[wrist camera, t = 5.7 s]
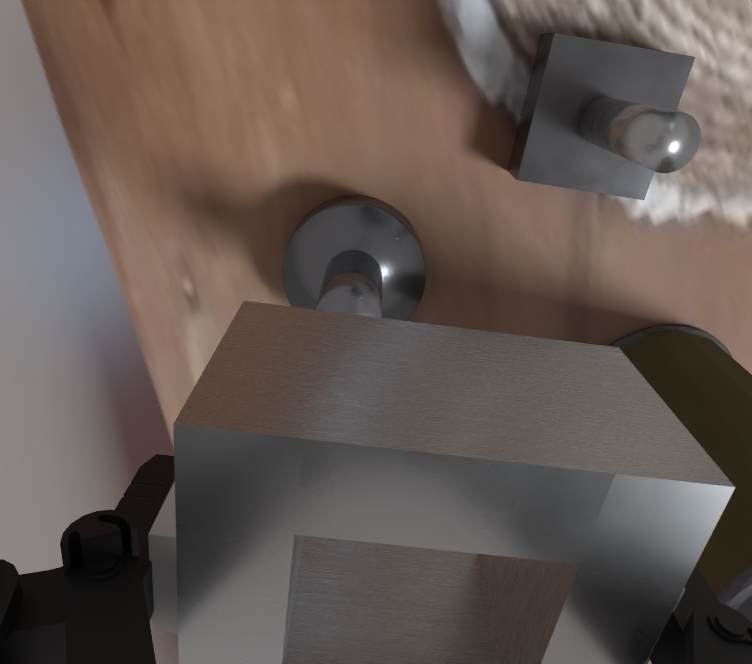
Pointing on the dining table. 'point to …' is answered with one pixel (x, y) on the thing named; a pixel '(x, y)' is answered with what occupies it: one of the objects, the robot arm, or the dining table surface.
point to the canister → (709, 438)
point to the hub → (355, 260)
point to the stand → (603, 117)
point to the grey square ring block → (429, 497)
